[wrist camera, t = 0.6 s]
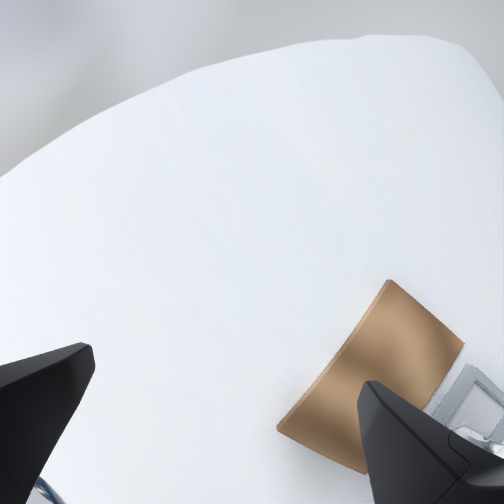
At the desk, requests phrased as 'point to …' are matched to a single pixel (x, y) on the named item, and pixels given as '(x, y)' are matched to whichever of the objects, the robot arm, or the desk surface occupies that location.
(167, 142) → the desk surface
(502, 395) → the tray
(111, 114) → the desk surface
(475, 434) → the milkshake
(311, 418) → the board
